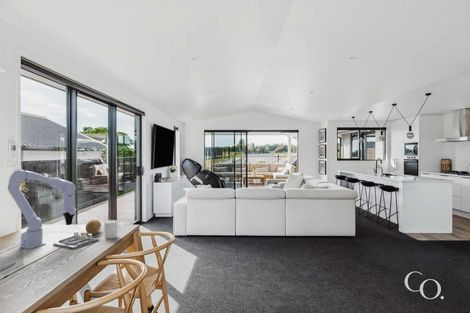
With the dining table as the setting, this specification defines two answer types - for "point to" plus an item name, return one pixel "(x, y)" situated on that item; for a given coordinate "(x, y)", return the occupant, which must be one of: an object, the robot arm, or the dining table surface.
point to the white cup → (111, 228)
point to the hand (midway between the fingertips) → (68, 224)
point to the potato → (93, 227)
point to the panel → (75, 241)
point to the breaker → (82, 235)
